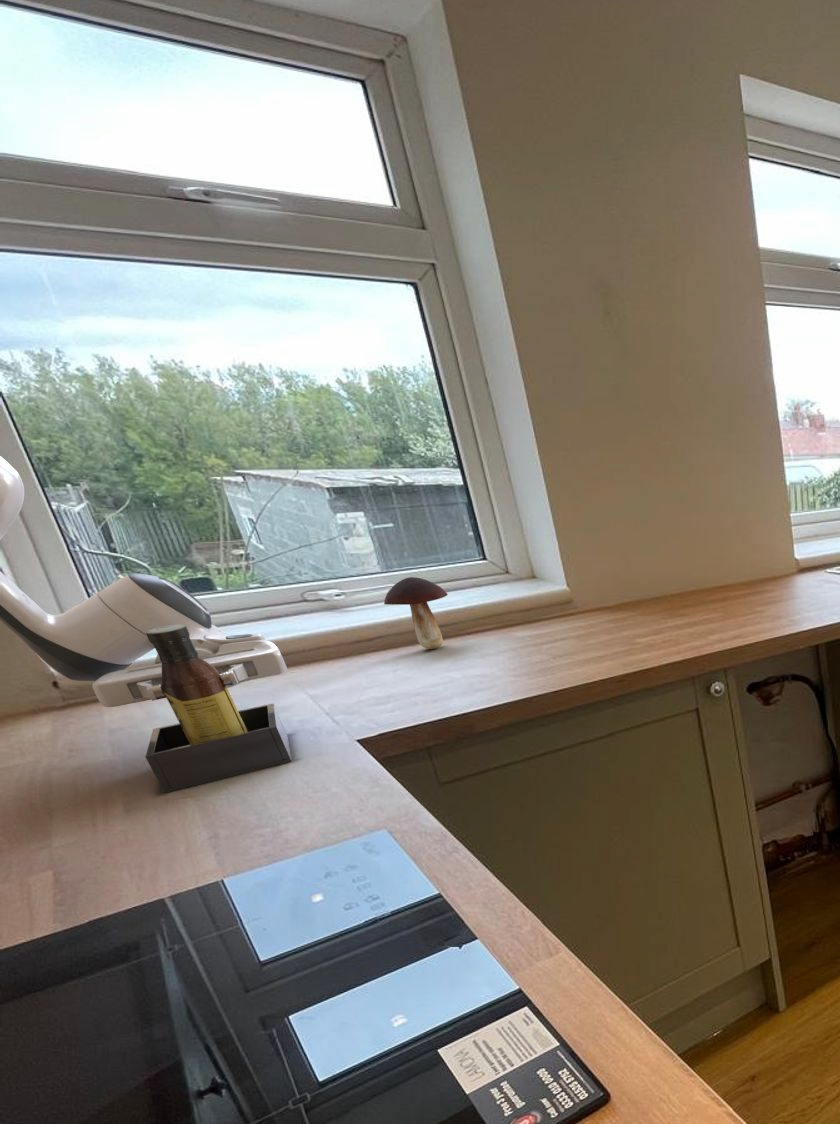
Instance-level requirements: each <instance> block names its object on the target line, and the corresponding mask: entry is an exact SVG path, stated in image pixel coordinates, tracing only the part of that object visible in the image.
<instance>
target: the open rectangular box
mask: <svg viewBox="0 0 840 1124" xmlns="http://www.w3.org/2000/svg"><path fill="white" fill-rule="evenodd" d="M238 712H239V714H240V716H241V718H242V720H243V723H244V725H245V727H246V729H247V731H248V732H244V733H240V734H235V735H231V736H227V737H222V738H218V739H213V740H209V741H204V742H200V743H196V744H191V745H190V743H189V741H188V739H187V737H186V735H185V733H184V731H183V729H182V727H181V725H180V723H179V722H178V723H174V724H169V725H165V726H160V727H155V728H152V731H151V735H150V739H149V741H148V745H147V749H146V753H145V759H146V761H147V763H148V764H149V767H150V768H151V771H152V772H153V774H154V776H155V778H156V781H158V784H159V786H160V788H161V790H162V792H163V793H164V794H166V793H169V792H174V791H178V790H182V789H186V788H190V787H195V786H199V785H202V784H206V783H211V782H214V781H218V780H222V779H226V778H231V777H235V776H239V775H242V774H246V773H247V774H248V773H250V772H254V771H258V770H259V771H260V770H263V769H266V768H270V767H274V766H278V765H283V764H286V763H290V762H291V763H292V756H291V749H290V741H289V735H288V733H287V731H286V728H285V726H284V724H283V722H282V719H281V717H280V715H279V712H278V710H277V708H276V706H275V703H269V704H263V705H257V706H253V707H249V708H244V709H240V710H238Z"/></svg>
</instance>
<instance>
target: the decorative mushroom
mask: <svg viewBox="0 0 840 1124" xmlns="http://www.w3.org/2000/svg"><path fill="white" fill-rule="evenodd" d="M448 595H449V594H448V593H447V591H446V590H445V589H444V588H442V587H441V586H440V585H438V584H436V583H434V582H432V581H431V580H427V579H425V578H422V577H421V578H420V577H417V576H416V577H414V576H409V577H406V578H403V579H401V580H399V581H398V582H396V583H395V584H394V585H392V587H391V588H390V589H389V590H388V592H386V595H385V598H384V602H383V604H384V605H386V606H387V605H389V606H391V605H392V606H396V605H402V606H404V605H405V606H407V605H408V606H410V614H411V619H412V625H413V628H414V632H415V635H416V638H417V641H418V643H419V644H420V646H421V647H422V648H424V649H428V650H433V649H434V650H435V649H437V648H440V647H441V646H442V645H443V643H444V642H443V641H444V640H443V639H444V638H443V636H442V632H441V629H440V627H439V623H438V622H437V620H436V618H435V616H434V614H433V612H432V609H431V607H430V606H429V603H428V602H432V601H433V602H434V601H437V600H440V599H443V598H445V597H447V596H448Z"/></svg>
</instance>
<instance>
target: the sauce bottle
mask: <svg viewBox="0 0 840 1124" xmlns="http://www.w3.org/2000/svg"><path fill="white" fill-rule="evenodd" d="M146 634H147V637H148V639H149V641H150V642H151V643H152V644H153V645H154V647H155V648H154V649H155V651H156V653H157V654H158V655H159V657H160V661H161V662H162V690H163V692H164V694H165V696H166V698H165V699H166V700H167V701H168V704H169V705H170V708H171V709H172V711H173V714H174V716H175V717H176V719H177V721H178V723H180V725H181V727H182V729H183V731H184V733H185V735H186V737H187V739H188V741H189V743H190V745H191V744H196V743H200V742H204V741H209V740H213V739H218V738H222V737H227V736H231V735H235V734H240V733H244V732H248V731H247V729H246V727H245V725H244V723H243V720H242V718H241V716H240V714H239V712H238V711H239V710H238V708H237V706H236V704H235V702H234V700H233V698H232V696H231V693H230V692H229V688H227V687H226V686H224V684H223V681H222V680H221V678H220V675H219V673H218V671H217V670H216V669H215V668H214V667H213V666H212V665H210V664H209V663H207V662H206V661H204V660H203V659H201V658H199V656H198V652H197V651H196V650H195V648H194V646H193V644H192V642H191V640H190V637H189V636H190V635H189V632H188V629H187V627H186V626H185V625H169V626H163V627H158V628H155V629H151V630H148V631H147V632H146Z"/></svg>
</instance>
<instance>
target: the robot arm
mask: <svg viewBox="0 0 840 1124" xmlns="http://www.w3.org/2000/svg"><path fill="white" fill-rule="evenodd" d="M25 491H26V490H25V486H24V482H23V480H22V477H21V476H20V473H19V472H18V470H17V469H15V468H14V467H13V466H12V465H11V464H10V463H9V462H8V461H7V460H6V459H4V458H3V457H2V456H1V455H0V542H1V541H2V539H3V538H4V537H5V535H6V534H7V533H8V531H9V529H10V528H11V527H12V525H13V524H14V523H15V521H16V519H17V518H18V516H19V514H20V513H21V511H22V508H23V504H24V501H25V496H26V495H25V493H26V492H25ZM211 616H212V615H211V612H210V611H209V610H208V608H207V607H206V606H205V605H204V604H203V603H201V602H200V601H199V600H198V599H197V598H196V597H195V596H194V595H193V594H191V593H190V592H188V591H187V590H185V588H182V587H181V586H180V585H178V584H176V583H175V582H173V581H171V580H169V579H168V578H164V577H161V576H157V575H151V574H146V573H137V572H136V573H135V572H133V573H128V574H127V575H124V576H123V577H121V578H119V579H117V580H116V581H114V582H112V583H110V584H109V585H107V586H106V587H104V588H102V589H101V590H98V591H97V593H95V594H93V595H92V596H90V597H88V598H86V599H85V600H83V601H82V602H79V604H75V606H73V607H71V608H69V609H68V610H66V611H65V612H62V613H58V614H52V613H49V612H46V611H45V610H44V609H43V608H42V607H40V606H39V605H38V604H37V603H36V602H35V601H34V600H33V599H32V598H31V597H29V596H28V594H26V593H25V592H24V591H23V590H22V589H21V588H20V587H18V586H17V585H16V584H15V583H14V582H13V581H11V580H10V579H9V578H8V577H7V576H6V575H5V574H4V573H2V571H1V570H0V622H1V623H2V624H3V625H5V627H7V628H8V629H9V630H10V631H11V632H12V633H14V634H15V635H16V636H17V637H18V638H19V639H20V640H21V641H23V643H24V644H25V645H27V646H28V647H29V648H30V650H32V651H33V652H34V653H35V655H36V656H37V657H38V658H39V659H40V661H42V662H43V663H44V664H45V665H46V666H47V667H48V668H50V669H51V670H52V671H54V672H55V673H58V674H59V675H60V676H63V677H65V678H67V679H69V680H71V681H77V682H93V683H92V684H91V687H92V689H93V692H94V694H95V696H96V698H97V700H98V701H99V703H100V705H101V706H102V707H105V708H115V707H121V706H126V705H130V704H131V705H132V704H136V703H141V702H146V701H151V702H152V701H157V700H162V699H167V698H166V696H165V694H164V692H163V690H162V662H161V661H160V657H159V655H158V653H157V654H156V657H155V660H154V663H152V664H147V665H142V666H134V667H131V668H129V666H131V665H132V664H133V662H135V661H137V660H138V659H140V658H142V657H143V656H145V655H146V654H148V653H150V652H152V651H153V650H154V649H155V647H154V645H153V644H152V643H151V642H150V641H149V639H148V637H147V634H146V632H147V631H148V630H151V629H155V628H158V627H163V626H169V625H185V626H186V627H187V629H188V632H189V635H190V636H189V637H190V640H191V642H192V644H193V646H194V648H195V650H196V651H197V652H198V656H199V658H201V659H203V660H204V661H206V662H207V663H209V664H210V665H212V666H213V667H214V668H215V669H216V670H217V671H218V673H219V675H220V678H221V680H222V681H223V684H224V686H226V687H227V689H229V688H233V687H235V686H237V685H240V684H242V683H245V682H249V681H254V680H258V679H263V678H269V677H273V676H275V677H276V676H279V675H283V674H286V673H287V672H288V667H287V664H286V662H285V659H284V658H283V655H282V653H281V650H280V649H279V647H278V646H277V645H276V644H275V643H274V642H272V641H271V640H266V639H265V637H264V635H263V634H262V633H246V634H245V633H244V634H233V635H232V634H231V635H228V634H227V633H226V632H225V631H223V630H222V629H221V628H219V627H218V626H216V625H215V624H212V617H211Z"/></svg>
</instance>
